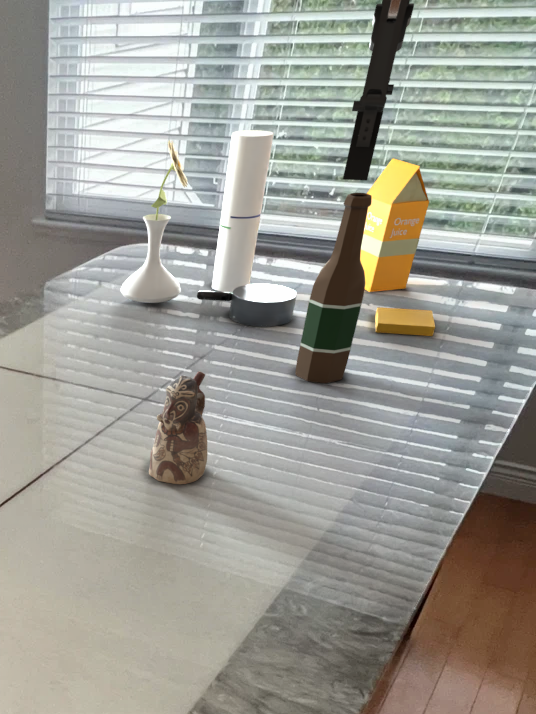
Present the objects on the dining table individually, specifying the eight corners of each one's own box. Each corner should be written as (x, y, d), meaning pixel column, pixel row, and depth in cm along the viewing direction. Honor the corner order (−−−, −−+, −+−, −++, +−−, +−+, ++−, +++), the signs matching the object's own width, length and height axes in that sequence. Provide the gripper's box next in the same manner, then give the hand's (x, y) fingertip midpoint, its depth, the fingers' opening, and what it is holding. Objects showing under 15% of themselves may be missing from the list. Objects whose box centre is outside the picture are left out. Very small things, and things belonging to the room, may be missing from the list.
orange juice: (381, 276, 167) (411, 156, 154) (406, 288, 161) (440, 164, 147) (345, 279, 166) (372, 159, 153) (369, 292, 160) (399, 168, 146)
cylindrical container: (242, 294, 161) (266, 137, 144) (206, 289, 164) (226, 135, 147) (253, 284, 166) (278, 131, 149) (218, 280, 168) (239, 129, 152)
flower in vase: (165, 311, 155) (181, 149, 138) (109, 303, 159) (118, 145, 143) (192, 292, 163) (210, 137, 146) (138, 285, 167) (150, 134, 151)
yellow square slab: (429, 319, 147) (432, 310, 146) (432, 336, 141) (435, 326, 140) (375, 316, 149) (377, 307, 148) (375, 332, 143) (377, 323, 142)
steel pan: (293, 309, 153) (298, 285, 151) (290, 328, 146) (294, 303, 143) (198, 303, 158) (201, 280, 155) (190, 322, 150) (193, 297, 147)
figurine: (136, 467, 108) (145, 372, 100) (180, 454, 111) (192, 360, 103) (171, 489, 104) (183, 391, 95) (216, 475, 106) (231, 378, 98)
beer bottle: (355, 373, 130) (400, 192, 114) (330, 387, 126) (373, 203, 110) (309, 361, 134) (346, 186, 118) (283, 375, 130) (318, 196, 114)
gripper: (377, -66, 98) (332, 150, 113) (369, -69, 81) (317, 187, 95) (447, -68, 96) (392, 152, 111) (453, -71, 79) (387, 190, 93)
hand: (357, 169), depth 103 cm, fingers open, 13 cm apart
